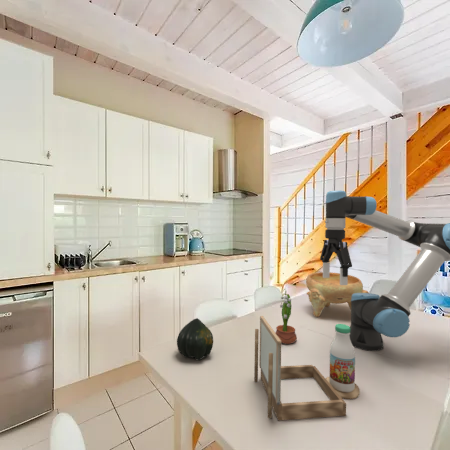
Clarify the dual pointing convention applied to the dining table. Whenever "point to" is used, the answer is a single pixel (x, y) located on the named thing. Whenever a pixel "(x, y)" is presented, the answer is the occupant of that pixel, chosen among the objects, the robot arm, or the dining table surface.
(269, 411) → the prop sticks
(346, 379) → the milk bottle
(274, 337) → the lid
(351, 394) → the disc
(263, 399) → the dining table surface
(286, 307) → the potted flower
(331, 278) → the decorative bowl
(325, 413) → the cold frame
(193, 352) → the squash
